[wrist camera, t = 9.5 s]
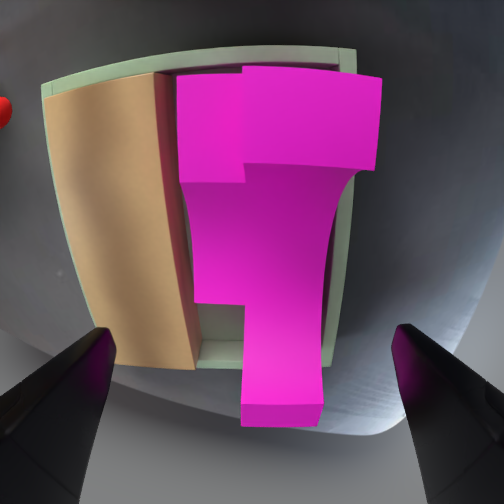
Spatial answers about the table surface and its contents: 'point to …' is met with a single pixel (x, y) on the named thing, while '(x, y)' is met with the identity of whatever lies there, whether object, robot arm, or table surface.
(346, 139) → the toy block
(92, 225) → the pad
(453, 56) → the table surface
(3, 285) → the table surface
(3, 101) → the molecule model
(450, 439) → the robot arm
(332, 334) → the frame
